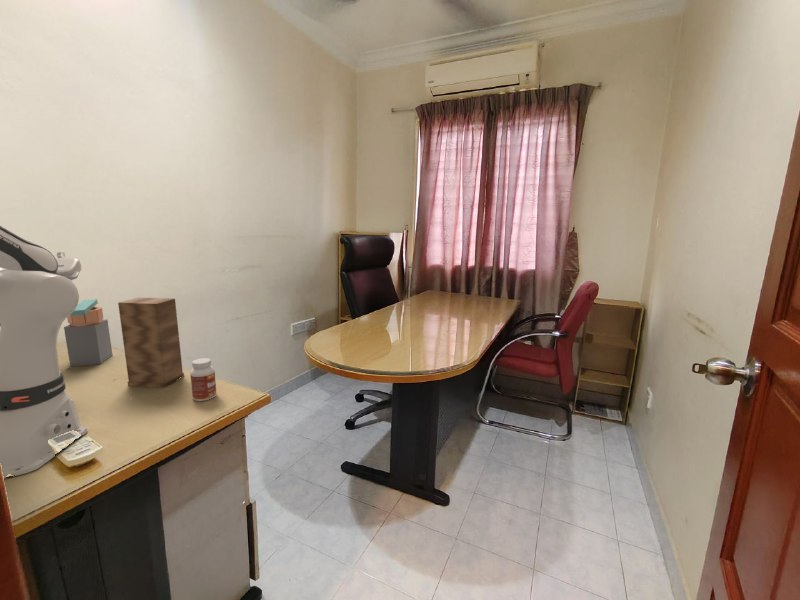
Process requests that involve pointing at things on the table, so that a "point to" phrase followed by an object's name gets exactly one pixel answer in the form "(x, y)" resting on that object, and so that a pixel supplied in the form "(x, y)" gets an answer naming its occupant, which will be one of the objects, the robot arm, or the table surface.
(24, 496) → the table surface
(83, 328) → the riser
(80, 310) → the lid slat
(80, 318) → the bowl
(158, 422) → the table surface
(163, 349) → the walnut shelf
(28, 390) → the robot arm
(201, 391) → the pill bottle
